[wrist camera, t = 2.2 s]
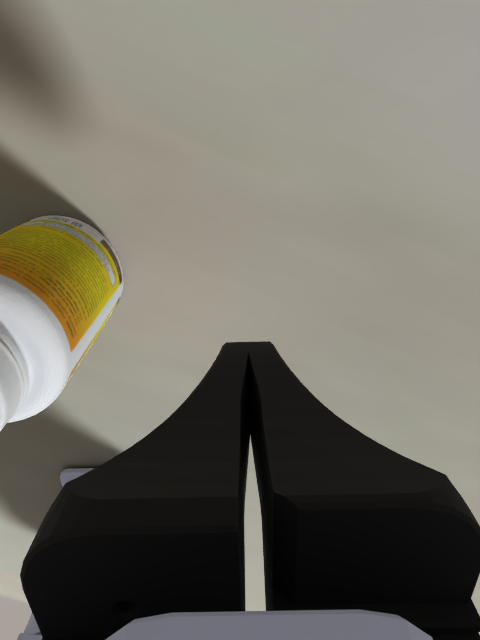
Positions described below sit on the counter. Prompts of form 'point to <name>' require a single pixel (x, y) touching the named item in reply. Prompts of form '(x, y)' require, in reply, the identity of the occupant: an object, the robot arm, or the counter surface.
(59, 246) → the supplement bottle
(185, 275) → the counter surface
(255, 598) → the counter surface
